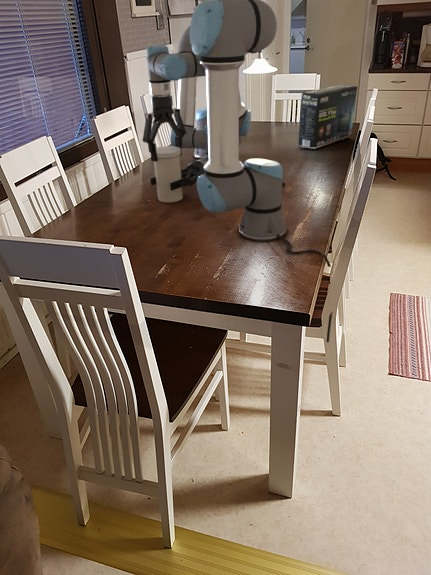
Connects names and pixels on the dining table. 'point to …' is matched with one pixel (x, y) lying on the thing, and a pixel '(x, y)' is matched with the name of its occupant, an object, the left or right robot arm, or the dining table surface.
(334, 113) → the router box
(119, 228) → the dining table surface
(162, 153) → the lid
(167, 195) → the jar
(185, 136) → the left robot arm
